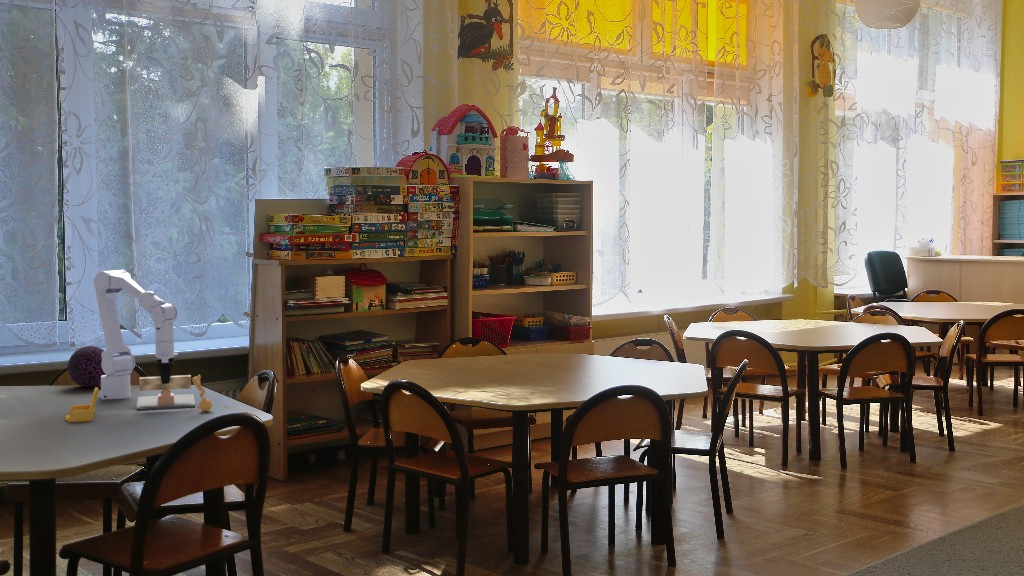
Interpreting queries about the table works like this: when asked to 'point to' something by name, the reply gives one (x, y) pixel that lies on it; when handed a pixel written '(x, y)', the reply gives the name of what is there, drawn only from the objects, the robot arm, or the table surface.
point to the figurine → (205, 403)
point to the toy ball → (86, 366)
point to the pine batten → (156, 384)
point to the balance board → (155, 399)
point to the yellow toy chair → (83, 410)
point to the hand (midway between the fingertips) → (165, 381)
